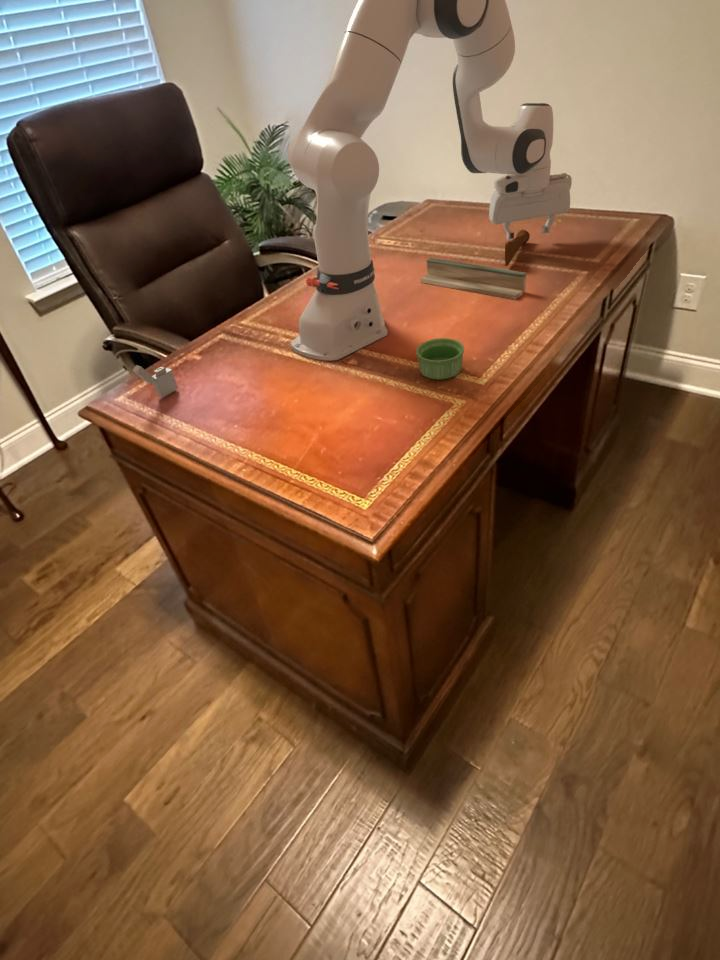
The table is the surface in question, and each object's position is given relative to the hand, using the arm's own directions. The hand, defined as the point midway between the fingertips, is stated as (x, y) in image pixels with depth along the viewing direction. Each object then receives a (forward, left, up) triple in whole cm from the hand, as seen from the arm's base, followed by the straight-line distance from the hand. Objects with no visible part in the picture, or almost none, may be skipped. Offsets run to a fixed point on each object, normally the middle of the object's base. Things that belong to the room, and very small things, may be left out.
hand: (527, 235), depth 153 cm
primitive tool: (-10, 0, -5) cm, 11 cm away
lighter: (-99, +29, -3) cm, 103 cm away
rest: (-26, 0, -3) cm, 26 cm away
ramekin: (-64, -15, -3) cm, 66 cm away
